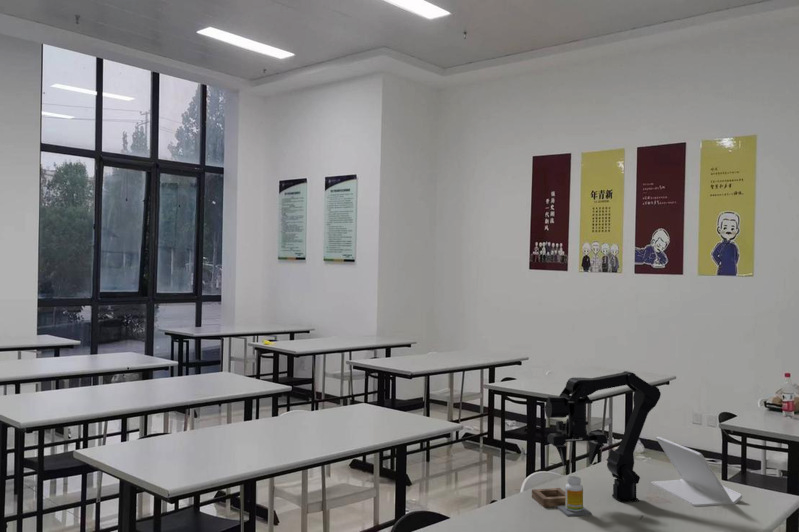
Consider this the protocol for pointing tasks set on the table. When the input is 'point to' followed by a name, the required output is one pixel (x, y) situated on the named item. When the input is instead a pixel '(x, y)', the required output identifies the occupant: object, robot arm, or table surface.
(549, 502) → the walnut collar
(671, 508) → the table surface
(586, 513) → the rubber mat
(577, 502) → the supplement bottle
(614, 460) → the robot arm
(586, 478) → the table surface
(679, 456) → the tablet stand
